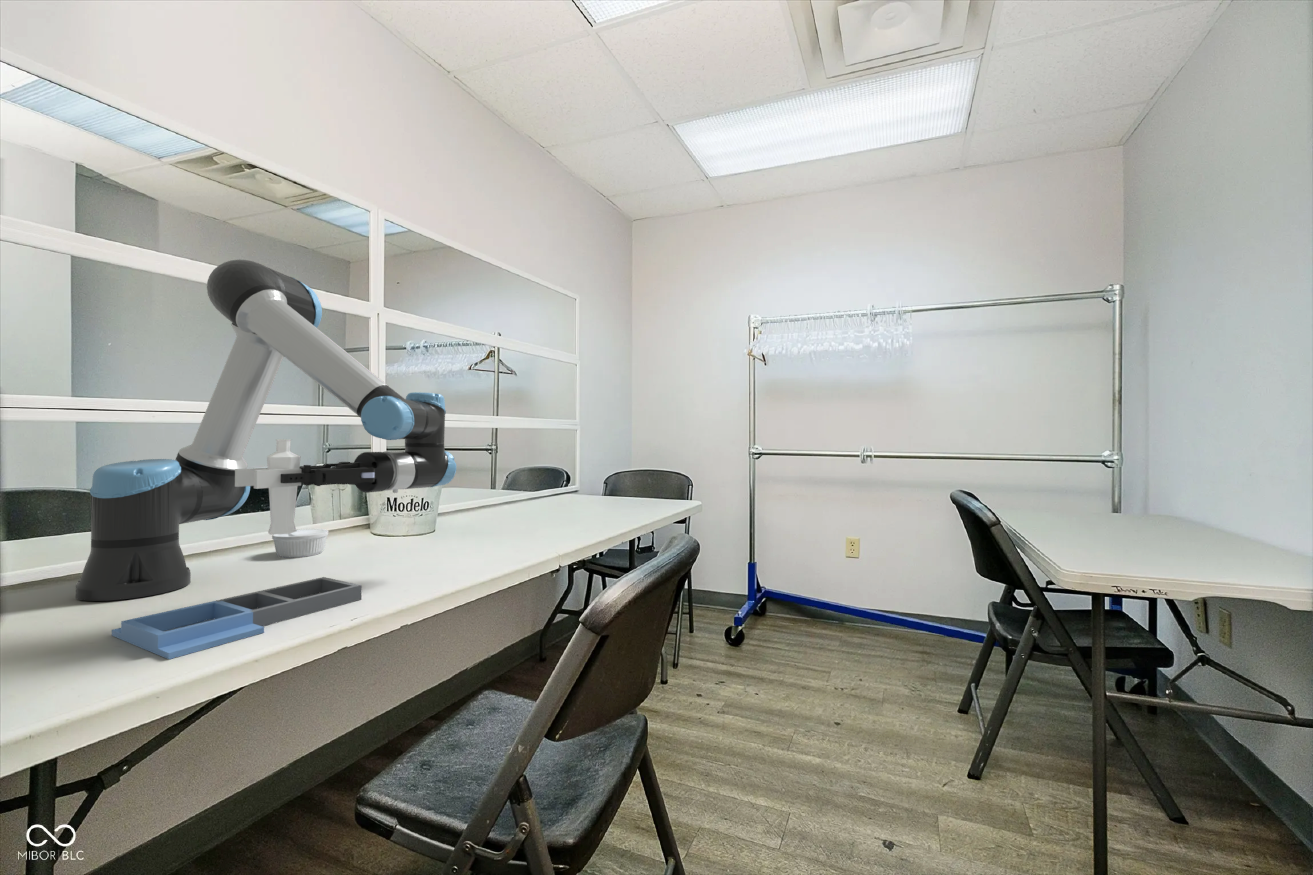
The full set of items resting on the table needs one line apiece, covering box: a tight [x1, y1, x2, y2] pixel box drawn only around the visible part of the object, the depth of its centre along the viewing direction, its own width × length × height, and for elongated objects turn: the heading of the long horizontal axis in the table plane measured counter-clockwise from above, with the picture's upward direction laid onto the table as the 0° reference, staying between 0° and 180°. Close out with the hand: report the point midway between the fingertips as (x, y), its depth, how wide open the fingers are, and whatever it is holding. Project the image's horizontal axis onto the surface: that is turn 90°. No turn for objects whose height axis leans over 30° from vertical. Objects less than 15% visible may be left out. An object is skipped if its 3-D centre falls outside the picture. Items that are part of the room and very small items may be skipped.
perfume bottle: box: [266, 438, 301, 536], centre depth 88 cm, size 5×4×15 cm
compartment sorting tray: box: [111, 576, 363, 660], centre depth 86 cm, size 28×17×2 cm, turn 152°
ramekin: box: [271, 528, 329, 559], centre depth 131 cm, size 11×11×5 cm
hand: (246, 478), depth 83 cm, fingers closed on perfume bottle, 4 cm apart
